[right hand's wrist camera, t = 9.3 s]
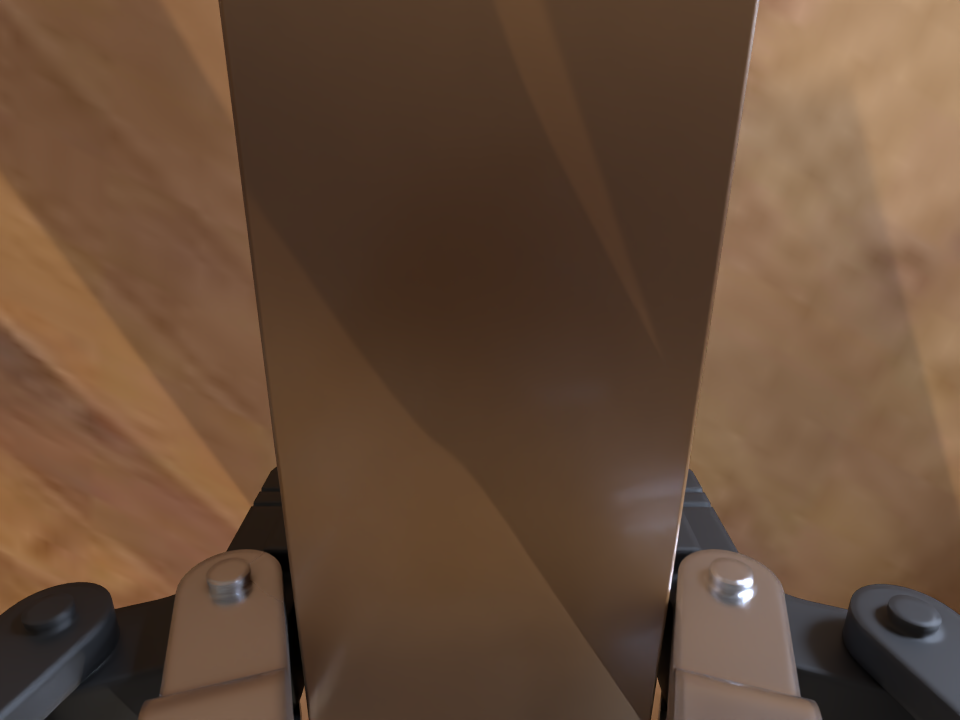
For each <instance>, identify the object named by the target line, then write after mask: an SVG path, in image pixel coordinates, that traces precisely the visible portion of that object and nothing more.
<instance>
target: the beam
mask: <svg viewBox="0 0 960 720" xmlns="http://www.w3.org/2000/svg"><path fill="white" fill-rule="evenodd" d="M758 6H759V0H219V8H220V16H221V24H222V32H223V40H224V48H225V56H226V64H227V71H228V79H229V87H230V95H231V103H232V111H233V119H234V127H235V135H236V143H237V151H238V159H239V167H240V175H241V183H242V191H243V199H244V207H245V215H246V223H247V231H248V239H249V247H250V255H251V263H252V271H253V278H254V286H255V294H256V302H257V310H258V318H259V326H260V334H261V342H262V350H263V358H264V366H265V374H266V382H267V390H268V398H269V406H270V414H271V422H272V430H273V438H274V446H275V454H276V462H277V470H278V478H279V486H280V493H281V501H282V509H283V517H284V525H285V533H286V541H287V549H288V557H289V565H290V573H291V581H292V589H293V597H294V605H295V613H296V621H297V629H298V637H299V645H300V653H301V661H302V669H303V677H304V685H305V693H306V700H307V708H308V716H309V720H651V715H652V708H653V701H654V695H655V688H656V681H657V675H658V668H659V662H660V655H661V648H662V642H663V635H664V628H665V622H666V615H667V609H668V602H669V595H670V589H671V582H672V575H673V569H674V562H675V556H676V549H677V542H678V536H679V529H680V523H681V516H682V509H683V503H684V496H685V489H686V483H687V476H688V470H689V463H690V456H691V450H692V443H693V436H694V430H695V423H696V417H697V410H698V403H699V397H700V390H701V383H702V377H703V370H704V364H705V357H706V350H707V344H708V337H709V330H710V324H711V317H712V311H713V304H714V297H715V291H716V284H717V277H718V271H719V264H720V258H721V251H722V244H723V238H724V231H725V224H726V218H727V211H728V205H729V198H730V191H731V185H732V178H733V171H734V165H735V158H736V152H737V145H738V138H739V132H740V125H741V118H742V112H743V105H744V99H745V92H746V85H747V79H748V72H749V65H750V59H751V52H752V46H753V39H754V32H755V26H756V19H757V12H758Z"/></svg>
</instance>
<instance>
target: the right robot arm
mask: <svg viewBox="0 0 960 720" xmlns="http://www.w3.org/2000/svg"><path fill="white" fill-rule="evenodd" d="M657 678H658V681H659V684H660V687H661V698H660V705H659V712H658V720H960V615H959V614H957V613H956V612H955V611H953V610H952V609H951V608H949V607H948V606H946V605H945V604H943V603H941V602H940V601H938V600H936V599H934V598H932V597H930V596H928V595H926V594H923V593H921V592H918V591H915V590H912V589H909V588H905V587H901V586H896V585H888V584H874V585H868V586H865V587H862V588H860V589H858V590H857V591H856V592H855V593H854V594H853V595H852V598H851V601H850V605H849V608H848V610H847V609H843V608H838V607H834V606H829V605H825V604H820V603H816V602H811V601H807V600H803V599H799V598H796V597H793V596H790V595H788V594H785V593H784V590H783V587H782V584H781V583H780V581H779V579H778V578H777V577H776V576H775V574H774V573H773V572H772V571H771V570H769V569H768V568H767V567H766V566H764V565H763V564H761V563H760V562H758V561H756V560H754V559H752V558H750V557H748V556H746V555H743V554H740V553H738V551H737V549H736V548H735V546H734V544H733V542H732V541H731V539H730V537H729V535H728V533H727V532H726V530H725V528H724V526H723V525H722V523H721V521H720V519H719V518H718V516H717V514H716V512H715V510H714V509H713V507H711V506H710V502H709V500H708V498H707V496H706V495H705V493H704V492H702V487H701V486H700V484H699V482H698V480H697V479H696V477H695V475H694V473H693V472H692V471H691V470H690V469H689V470H688V476H687V483H686V489H685V496H684V503H683V509H682V516H681V523H680V529H679V536H678V542H677V549H676V556H675V562H674V569H673V575H672V582H671V589H670V595H669V602H668V609H667V615H666V622H665V628H664V635H663V642H662V648H661V655H660V662H659V668H658V675H657ZM303 688H304V677H303V669H302V661H301V653H300V645H299V637H298V629H297V621H296V613H295V605H294V597H293V589H292V581H291V573H290V565H289V557H288V549H287V541H286V533H285V525H284V517H283V509H282V501H281V493H280V486H279V478H278V470H277V467H276V468H274V469H273V470H272V471H271V472H270V474H269V476H268V478H267V479H266V481H265V483H264V485H263V487H262V491H261V492H259V494H258V496H257V497H256V499H255V501H254V506H251V508H250V510H249V512H248V514H247V515H246V517H245V519H244V521H243V523H242V524H241V526H240V528H239V530H238V532H237V533H236V535H235V537H234V539H233V541H232V542H231V544H230V546H229V548H228V550H227V551H226V552H224V553H220V554H217V555H214V556H212V557H210V558H208V559H206V560H204V561H202V562H200V563H199V564H197V565H196V566H194V567H193V568H192V569H191V570H190V571H188V572H187V573H186V574H185V576H184V577H183V578H182V579H181V581H180V583H179V585H178V587H177V590H176V594H175V595H172V596H169V597H166V598H162V599H158V600H154V601H149V602H145V603H140V604H136V605H131V606H127V607H122V608H118V609H114V605H113V602H112V598H111V595H110V593H109V592H108V591H107V590H106V589H105V588H104V587H102V586H100V585H97V584H94V583H88V582H76V583H67V584H62V585H58V586H54V587H51V588H47V589H45V590H42V591H39V592H37V593H35V594H33V595H31V596H28V597H27V598H25V599H23V600H21V601H20V602H18V603H16V604H15V605H14V606H12V607H11V608H9V609H8V610H7V611H5V612H4V613H3V614H1V615H0V720H302V712H301V704H300V698H301V695H302V692H303Z"/></svg>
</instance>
